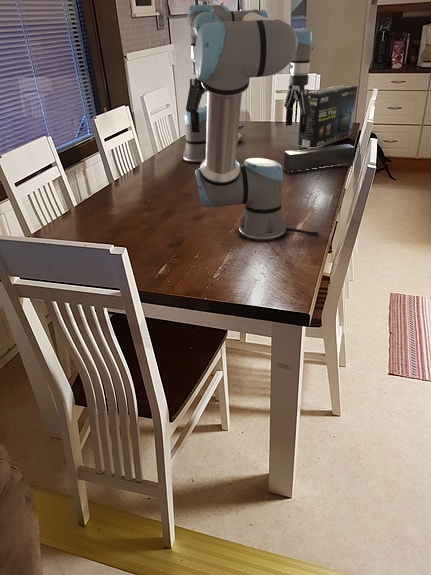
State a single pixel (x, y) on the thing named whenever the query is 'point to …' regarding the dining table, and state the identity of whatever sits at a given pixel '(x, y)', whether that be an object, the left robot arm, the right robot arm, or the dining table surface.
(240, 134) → the fossil
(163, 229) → the dining table surface
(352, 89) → the router box
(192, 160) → the left robot arm
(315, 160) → the bar
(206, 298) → the dining table surface
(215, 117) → the right robot arm
